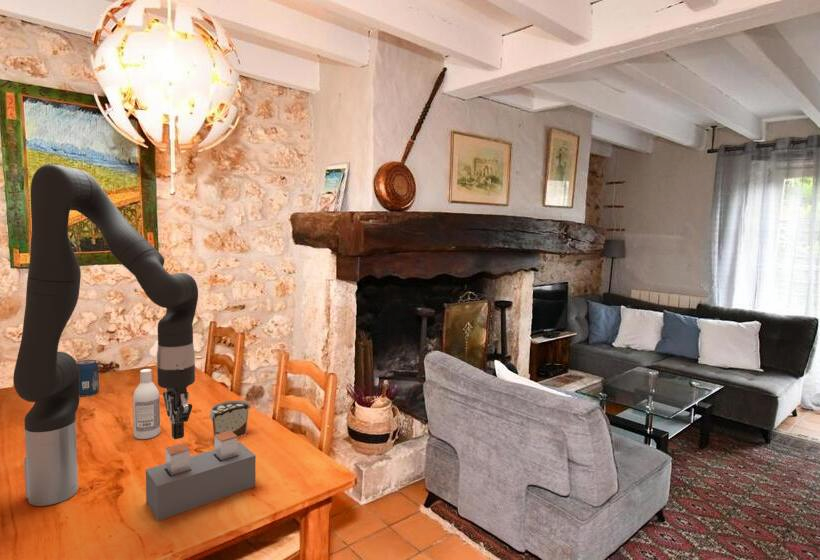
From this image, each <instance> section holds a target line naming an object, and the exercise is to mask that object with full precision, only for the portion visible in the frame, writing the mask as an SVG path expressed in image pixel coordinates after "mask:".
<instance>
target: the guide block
mask: <svg viewBox="0 0 820 560" xmlns="http://www.w3.org/2000/svg"><path fill="white" fill-rule="evenodd" d="M256 460H257V459H256V454H254V452H252V451H251V450H250V449H249V448H248V447H247V446H245V445H244V444H243V443H241V442H237V457H234V458H231V459H228V460H224V461H221V462H220V461H219V460H218V459H217V458H216V457H215V449H211V450H209V451H205V452H201V453H198V454H194V455H190V471H188V472H185V473H182V474H178V475H175V476H172V477H170V476H169V475H168V473H167V472H166V463H163V464H159V465H157V466H152V467H149V468H146V469H145V495H146V496H145V501H146V502H145V503H146V504H147V506H148V507H149V509H150V511H151V512H152V515H153V516H154V518H155V520H156V521H157V522H160V521H162V520H165V519H167V518H171V517H173V516H177V515H179V514H182V513H185V512H188V511H190V510H194V509H197V508H199V507H201V506H204V505H208V504H210V503H213V502H215V501H218V500H220V499H225V498H227V497H229V496H232V495H235V494H238V493H240V492H243V491H247V490H249V489H252V488H254V487H256V463H257V462H256Z"/></svg>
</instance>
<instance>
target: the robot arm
mask: <svg viewBox="0 0 820 560" xmlns="http://www.w3.org/2000/svg"><path fill="white" fill-rule="evenodd" d="M70 211H75V212H78V213H80V214H81V215H83V216H84V217H85V218H86V219H88V220H89V221H91V223H93V225H95V227H97V229H98V231H100V233H101V235H102V238H103V240H104V242H105V244H106V246H107V248H108V250H109V251H110V253H111V254H112V255H113V256H114V257H115V259H116V260H118V262H119V263H120V264H122V266H123V267H125V269H126V270H128V271H129V272H130V273H131V274H132V275H134V278H135V279H136V281H137V282H138V284H139V286H140V287H141V289H142V290H143V292H144V293H145V295H146V296H147V297H148V298H149V300H150V301H151V302H153V303H154V304H155V305H157V306H159V308H160V307H161V308H164V309H166V311H165V314H164V316H163V317H161V319H159V321H158V324H157V350H156V369H157V370H156V371H157V372H156V373H157V374H156V375H157V385H158V387H160V388H161V389H162V388H163V389H166V390H165V391H163V393H162V396H163V400H164V406H165V409H166V415H167V417H169V421H170V422H171V423H170V424H171V437H172V438H173V439H174V440H179V439H182V438H184V437H185V423H186V422H188V421H189V418H190V415H191V414H192V413H191V412H192V409H193V405H192V403H189V399H190V393H189V391H188V389H187V388H188V387H189V386H191V385H193V384H194V383H195V381H196V362H195V360H196V358H195V356H196V355H195V352H196V351H195V348H194V326H193V324H194V323H193V322H194V319H195V315H196V311H197V307H198V305H197V304H198V298H199V289H198V285H197V282H196V279H194V277H193V276H192V275H190V274H188V273H185V272H178V273H173V274H171V273H169V272H168V271H167V269H165V267H164V265H165V258H164V256H163V254H161V253H160V251H159V250H157V249H156V247H155V246H153V245H152V244H151V242H149V241H148V240H147V239H146V238H145V237H144V236H143V235H142V234H141V233H140V232H139V231H138V230H137V229H135V227H134V226H133V225H132V224H131V223H130V222H129V221H128V220H127V218H126V217H125V216H124V215H123V213H122V212H121V211H120V210H119V208H117V206H116V205H115V203H114V202H113V201H112V200H111V199H110V197H109V196H108V194H107V193H106V192H105V190H104V189H103V188H102V187H101V185H100V183H99V182H98V181H97V180H96V179H95V177H93V176H92V175H91V174H90V173H88V172H87V171H86V170H82V169H79V168H75V167H70V166H66V165H65V166H64V165H59V164H53V163H52V164H51V163H50V164H49V163H48V164H44V165H42V166H40V167H38V169H36V171H35V173H34V174H33V176H32V179H31V183H30V213H31V215H30V216H31V217H30V219H31V237H30V238H31V239H30V254H29V265H28V272H27V280H26V281H27V282H26V290H25V291H26V292H25V308H24V315H23V323H22V324H23V325H22V334H21V340H20V344H19V349H18V353H17V357H16V362H15V365H14V369H13V370H14V371H13V378H12V380H13V386H14V389H15V392H16V394H17V395H18V396H19V397H20V398H21V399H22V400H24V401H26V402H29V403H34V404H33V406H31V408H30V409H29V411H28V412H27V413H26V415H25V416H24V420H23V421H24V423H23V424H24V440H25V457H24V459H23V466H24V482H25V483H24V484H25V485H24V486H25V487H24V488H25V489H24V490H25V499H26V498H27V501H28V503H29V504H30V505H31V506H35V507H44V506H51V505H56V504H59V503H62V502H64V501H67V500H69V499H70V498H72V497H73V496H74V495H76V493H77V492H78V490H79V479H78V477H79V476H78V473H79V472H78V449H77V427H76V426H77V423H76V416H77V415H76V414H77V411H78V408H79V405H80V396H79V391H80V374H79V368H78V365H77V361H76V359H75V358H74V357H73V356H72V355H70V354H69V353H67V352H65V351H58V350H59V344H60V341H61V340H60V339H61V337H62V333H63V331H64V330H65V328H66V326H67V325H68V322H69V320H70V319H71V317H72V315H73V313H74V311H75V309H76V306H77V304H78V300H79V296H80V287H81V279H82V278H81V277H82V276H81V275H82V274H81V273H82V272H81V266H80V263H79V261H78V258H77V256H76V254H75V251H74V249H73V247H72V245H71V244H72V243H71V241H70V239H69V220H70V219H69V217H70Z"/></svg>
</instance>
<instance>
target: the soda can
mask: <svg viewBox="0 0 820 560" xmlns="http://www.w3.org/2000/svg"><path fill="white" fill-rule="evenodd" d="M76 363H77V365H78V368H79V374H80V391H79V397H91V396H95V395H96V394H97V393H98V392H99V390H100V377H99V374H100V373H99V364H98V362H97V360H96V359H82V360H79V361H76Z"/></svg>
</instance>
